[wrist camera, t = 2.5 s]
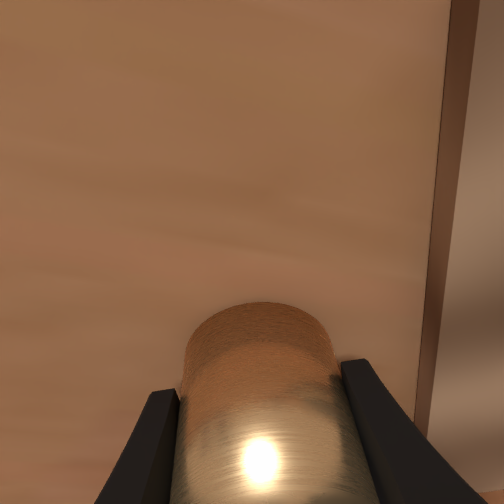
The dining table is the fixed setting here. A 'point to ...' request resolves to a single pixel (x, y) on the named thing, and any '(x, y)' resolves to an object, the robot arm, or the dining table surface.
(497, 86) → the carrier board
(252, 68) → the dining table surface
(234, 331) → the gold knobbed cylinder
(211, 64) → the dining table surface
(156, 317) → the dining table surface
